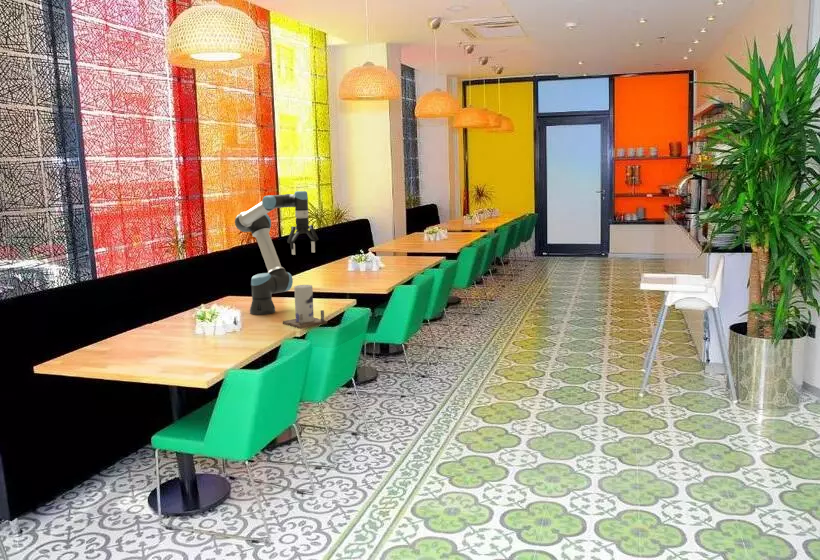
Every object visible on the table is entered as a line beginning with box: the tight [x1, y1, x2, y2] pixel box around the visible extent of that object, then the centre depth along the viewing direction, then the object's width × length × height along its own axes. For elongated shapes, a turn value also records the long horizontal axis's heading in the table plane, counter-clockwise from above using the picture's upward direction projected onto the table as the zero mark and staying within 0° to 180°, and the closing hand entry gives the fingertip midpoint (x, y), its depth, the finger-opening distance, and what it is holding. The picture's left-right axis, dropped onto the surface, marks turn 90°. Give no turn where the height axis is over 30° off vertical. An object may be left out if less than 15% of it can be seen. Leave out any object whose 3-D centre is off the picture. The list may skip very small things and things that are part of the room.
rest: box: [282, 310, 328, 329], centre depth 412 cm, size 18×18×8 cm
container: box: [293, 284, 315, 323], centre depth 411 cm, size 10×10×20 cm
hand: (303, 253), depth 433 cm, fingers open, 13 cm apart
